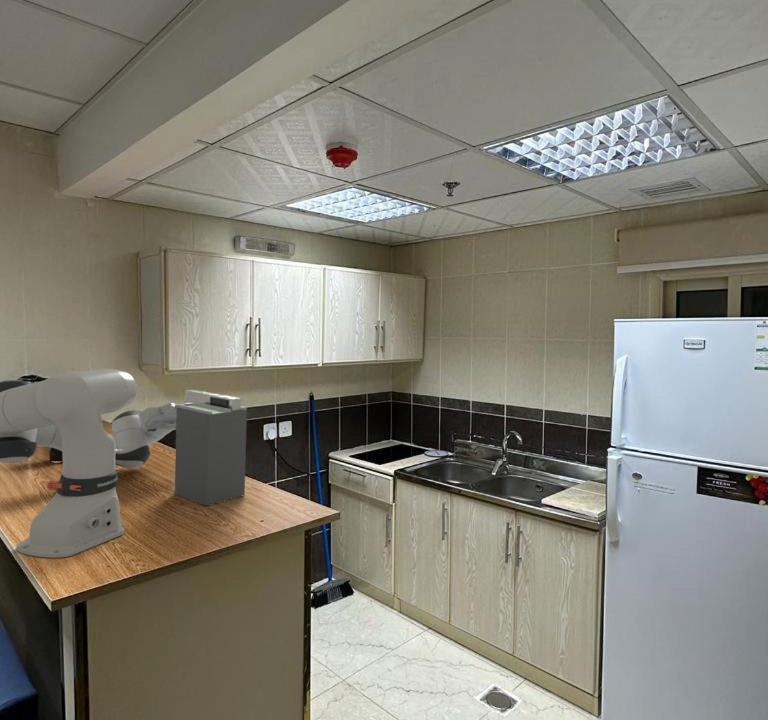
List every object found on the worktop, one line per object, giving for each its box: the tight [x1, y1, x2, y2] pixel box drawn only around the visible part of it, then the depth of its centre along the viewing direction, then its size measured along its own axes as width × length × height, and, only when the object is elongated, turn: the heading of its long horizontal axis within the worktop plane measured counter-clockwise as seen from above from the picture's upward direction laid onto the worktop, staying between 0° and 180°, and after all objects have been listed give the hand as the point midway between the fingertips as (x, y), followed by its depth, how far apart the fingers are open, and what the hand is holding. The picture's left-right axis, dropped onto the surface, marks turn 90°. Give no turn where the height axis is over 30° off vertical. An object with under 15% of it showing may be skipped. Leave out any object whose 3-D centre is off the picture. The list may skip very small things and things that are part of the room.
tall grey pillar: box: [174, 402, 248, 506], centre depth 155 cm, size 16×13×27 cm
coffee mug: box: [47, 447, 63, 461], centre depth 186 cm, size 12×9×10 cm
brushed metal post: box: [184, 389, 242, 411], centre depth 160 cm, size 24×4×4 cm, turn 53°
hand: (185, 403), depth 170 cm, fingers open, 8 cm apart
